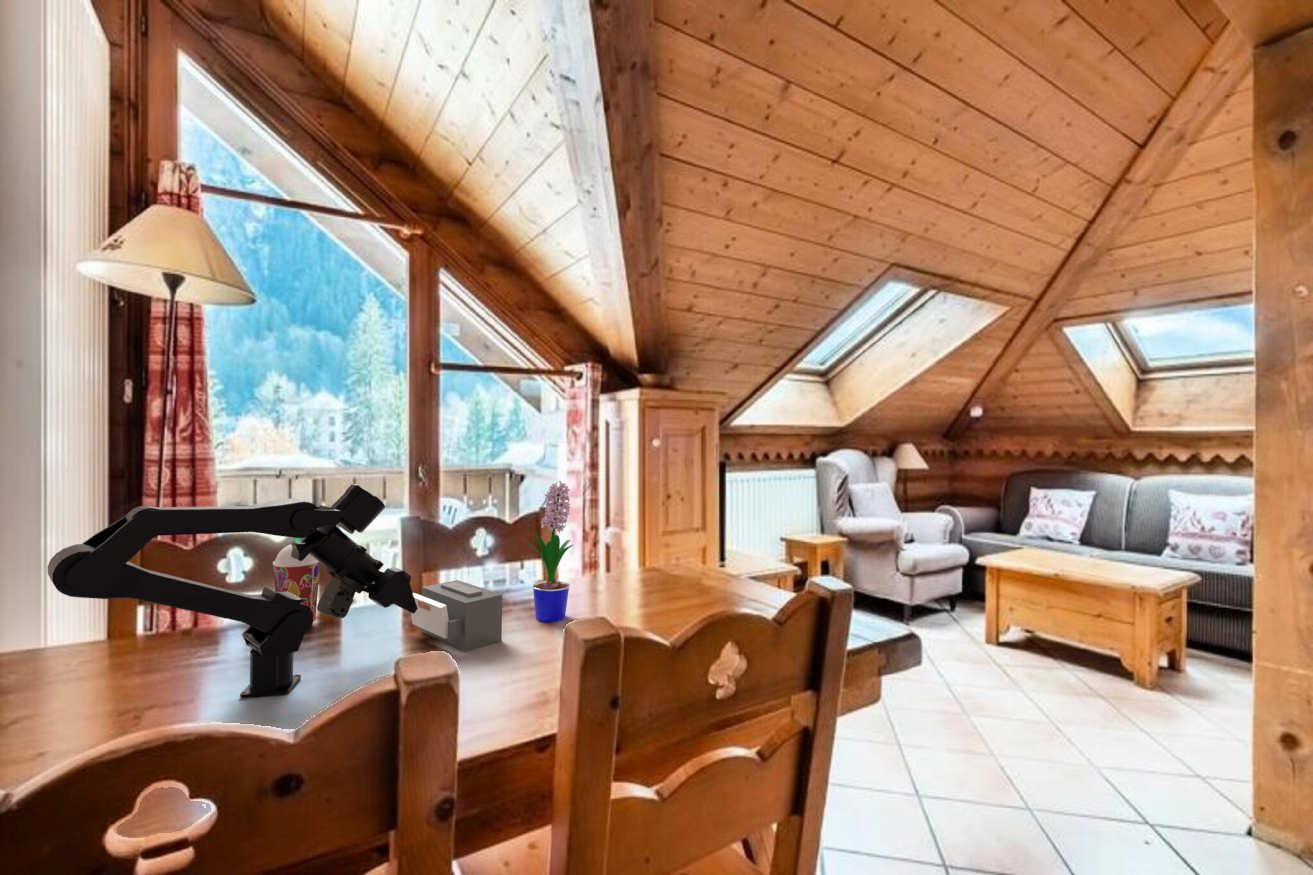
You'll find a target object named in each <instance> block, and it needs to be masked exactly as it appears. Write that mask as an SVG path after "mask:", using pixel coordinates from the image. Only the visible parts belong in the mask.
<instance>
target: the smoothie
mask: <svg viewBox="0 0 1313 875" xmlns="http://www.w3.org/2000/svg"><path fill="white" fill-rule="evenodd" d="M295 542H300V538H295ZM291 544H292V543H290V544H288V545H286V546H284V547H283V548H282V549H281V550H280V551H279V552H278V553H277V556H276V557H275V560H274V561H272V566H273V582H274V584H273V585H274V590H275V591H278V592H290V593H292V594H294V595H296V596H298V597H300V598H301V599H303V600H304V601H303V602H301V603H303V604H305V605H307V606H308V607H310V608H311V610H312V613H313V623H312V626H311V628H312V627H313V625H314V622H315V621H316V620H317V619H316V618H317V605H318V595H319V583H320V581H319V580H320V570H321V563H320V562H319V561H318V560H316V559H315V558H314V557H313V556H311V555H310V554H309V555H308V556H307V557H306V558H305V559H304V560H303V561H299V560H296V559H294V558H292V557H291V554H292V545H291Z"/></svg>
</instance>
